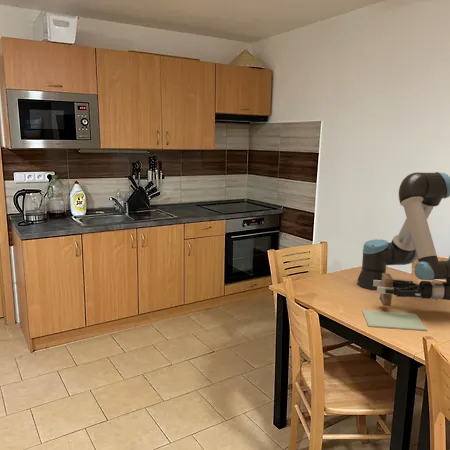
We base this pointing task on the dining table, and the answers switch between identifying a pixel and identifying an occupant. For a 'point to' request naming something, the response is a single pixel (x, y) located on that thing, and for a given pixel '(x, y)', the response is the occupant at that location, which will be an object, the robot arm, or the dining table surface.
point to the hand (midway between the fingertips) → (375, 286)
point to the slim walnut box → (386, 282)
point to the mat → (393, 320)
